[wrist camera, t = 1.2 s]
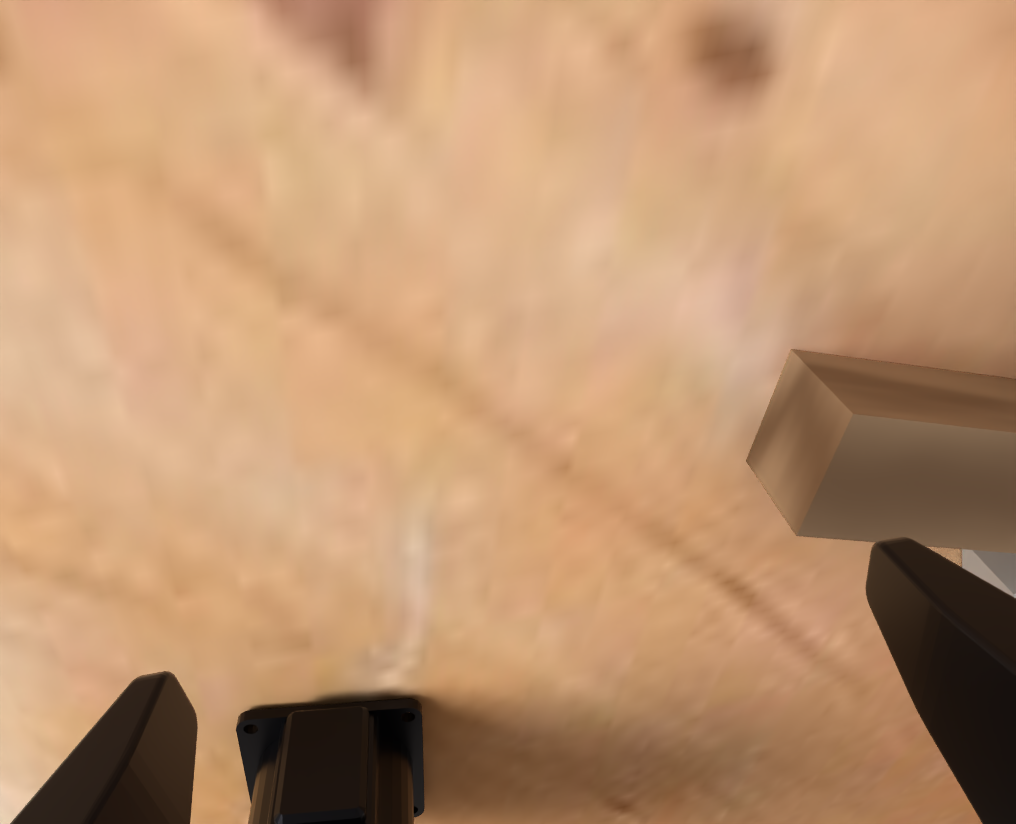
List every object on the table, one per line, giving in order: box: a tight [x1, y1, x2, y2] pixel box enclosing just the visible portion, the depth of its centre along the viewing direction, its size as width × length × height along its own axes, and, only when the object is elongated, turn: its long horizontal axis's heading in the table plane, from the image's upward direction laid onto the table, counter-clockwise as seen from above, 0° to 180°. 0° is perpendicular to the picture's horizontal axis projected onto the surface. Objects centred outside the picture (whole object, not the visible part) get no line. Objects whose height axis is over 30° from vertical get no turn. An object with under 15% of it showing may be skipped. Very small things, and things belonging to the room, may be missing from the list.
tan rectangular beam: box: [746, 349, 1016, 554], centre depth 24 cm, size 4×12×4 cm, turn 79°
